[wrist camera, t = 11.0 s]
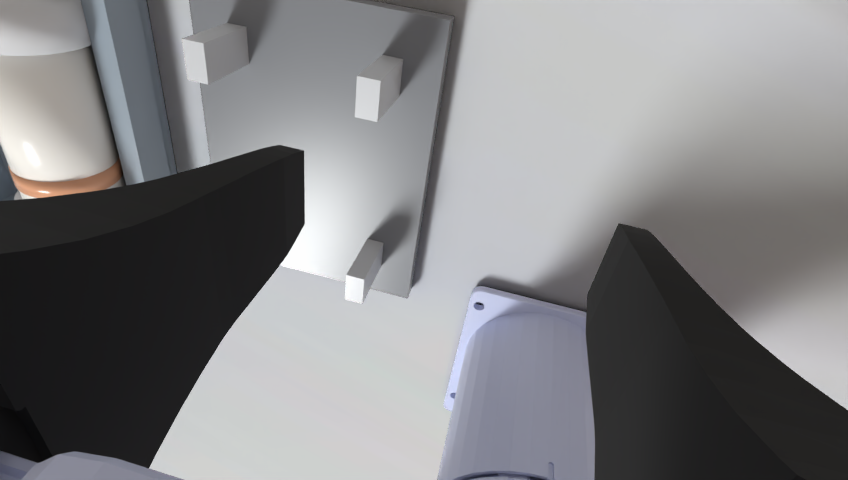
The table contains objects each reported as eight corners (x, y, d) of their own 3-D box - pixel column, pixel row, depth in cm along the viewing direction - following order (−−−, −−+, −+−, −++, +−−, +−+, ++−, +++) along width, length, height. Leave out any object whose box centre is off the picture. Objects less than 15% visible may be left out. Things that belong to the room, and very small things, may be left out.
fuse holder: (411, 288, 25) (391, 338, 22) (230, 241, 26) (188, 283, 23) (454, 16, 18) (433, 37, 15) (197, -34, 19) (130, -23, 16)
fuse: (121, 185, 26) (154, 227, 24) (15, 210, 24) (40, 261, 21) (68, -23, 21) (104, 4, 18) (-81, -23, 18) (-62, 9, 15)
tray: (189, 245, 27) (163, 269, 25) (14, 199, 28) (-23, 219, 27) (133, -76, 18) (87, -74, 17) (-117, -122, 20) (-185, -125, 18)
